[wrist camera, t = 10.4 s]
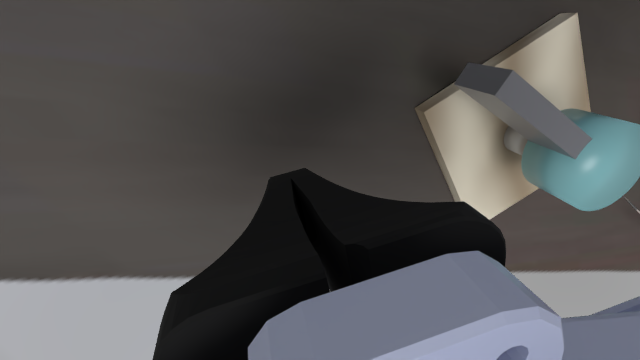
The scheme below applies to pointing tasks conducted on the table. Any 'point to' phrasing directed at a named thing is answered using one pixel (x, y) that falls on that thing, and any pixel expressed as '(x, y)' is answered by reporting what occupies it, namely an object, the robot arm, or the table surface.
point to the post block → (491, 132)
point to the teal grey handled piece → (560, 139)
